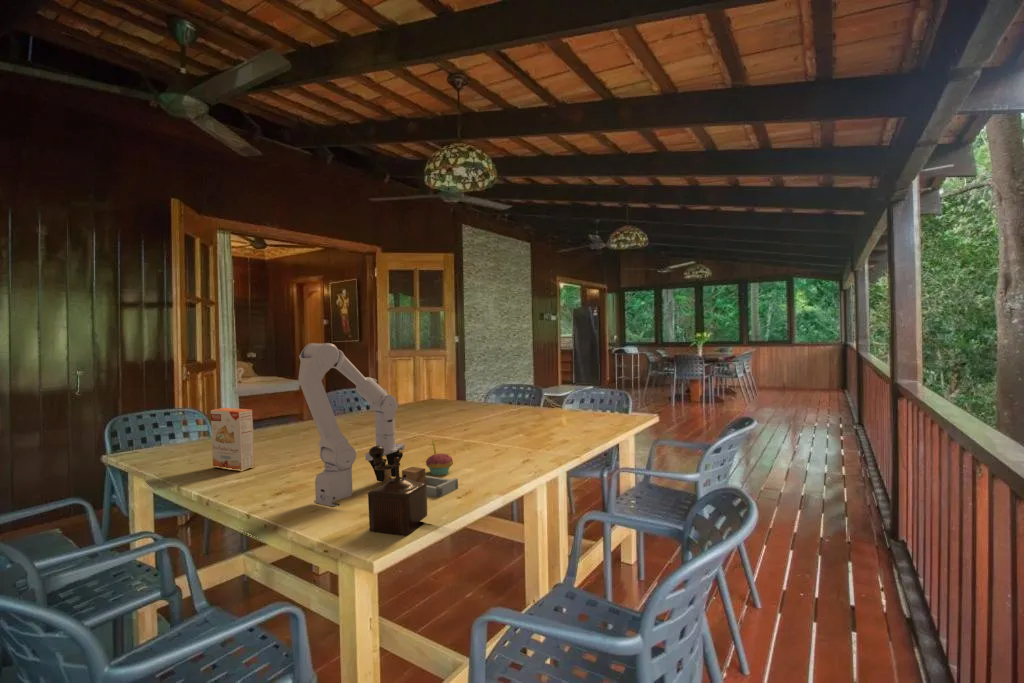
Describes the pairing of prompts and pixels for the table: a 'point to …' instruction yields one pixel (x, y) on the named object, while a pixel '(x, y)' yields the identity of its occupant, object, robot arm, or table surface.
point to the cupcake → (439, 462)
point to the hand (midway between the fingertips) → (386, 478)
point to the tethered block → (411, 473)
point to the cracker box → (232, 438)
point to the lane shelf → (440, 486)
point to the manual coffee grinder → (396, 501)
